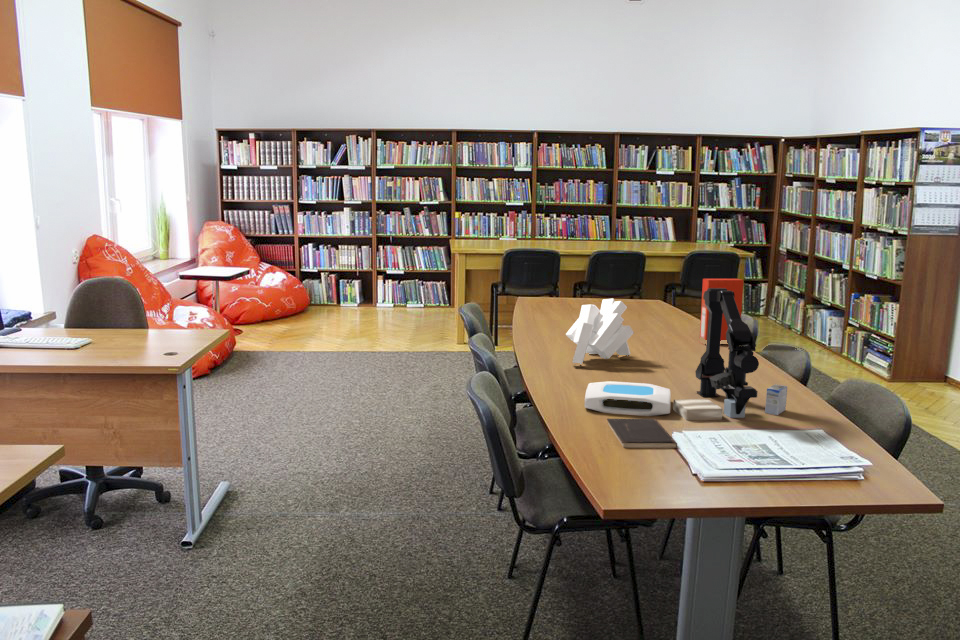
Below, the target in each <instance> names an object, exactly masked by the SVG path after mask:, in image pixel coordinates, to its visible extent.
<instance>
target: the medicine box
mask: <svg viewBox="0 0 960 640" xmlns="http://www.w3.org/2000/svg"><path fill="white" fill-rule="evenodd" d="M787 396H788V386H787V385H782V384H776V383H775V384H772V385H771V386H769V387H768V388H766V394H765V407H764V408H765V410H764V413H765V414H768V415H773V414H774V415H773V416H779V415H780V414H782V413H783V412H785V411H786V407H787V398H788V397H787Z"/></svg>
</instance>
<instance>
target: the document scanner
mask: <svg viewBox="0 0 960 640" xmlns="http://www.w3.org/2000/svg"><path fill="white" fill-rule="evenodd" d="M607 399H614V400H613V401H617V400H628V401H627V402H631V401H638V402H637V403H643V402H647V403H646V404H650V403H651V404H650V405H651V406H652V407H651V408H649V409H647V408H645V409H641V408H623V407H614V406H613V407H612V406H606V405H604V403H603V402H605V401H604V400H607ZM607 401H608V400H607ZM584 408H585V409H589V410H593V411H597V412H600V413H603V414H613V415H629V416H630V415H631V416H640V417H641V416H642V417H652V416H661V415H668V414H670V413H671V389H670V388H667V387H663V386H659V385H656V384H652V383H643V382H627V381H613V380H612V381H611V380H609V381H598V382H596V381H595V382H589V383H588V384H587V387H586V390H585V395H584Z"/></svg>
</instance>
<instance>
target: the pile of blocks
mask: <svg viewBox="0 0 960 640" xmlns="http://www.w3.org/2000/svg"><path fill="white" fill-rule="evenodd" d="M600 305H601V306H600V309H599V307H597V305H596V304H592V303H590V304H582V305H581V308H580V311H579V317H578V318H577V319H576V320H575V322H574V323H572V326H571V327H570V328H569V329H568V331H567V332H565V336H566V337H567V338H568V339H570V341H573V343H574V344H576V348H575V352H574V354H573V358H572V361H571V363H572V362H573V363H580V364H582V362H583V363H584V360H585V357H586V354H587V353H589V354H598V355H599V357H600V358H601V359H602V358H604V359H605V360H609V359H610V358H611V357H612V356H614V354H615V353H616V355H617V354H619V355H627V357H629V356H628V355H630V354H631V350H630V346H629V343H628V340H629V339H630V338H631V336H632V335H634V334H635V332H634V330H633V328H632V327H631V326H630V325H623V322H624V321H625V319H624V318H623V317H622V315H623V314H624V312H625V311H626V310H627V308H628V305H626V304H625V303H624V302H623V301H622V300H617V301H616V300H615V299H614V298H613V297H612V298H604V299H602V301H601V304H600ZM589 354H588V355H589ZM631 355H632V354H631ZM631 355H630V356H631ZM582 365H583V364H582Z"/></svg>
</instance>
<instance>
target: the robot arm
mask: <svg viewBox="0 0 960 640" xmlns="http://www.w3.org/2000/svg"><path fill="white" fill-rule="evenodd" d="M734 297H735V295H734V292H733V291H727V289H726V288H708V289H707V291H705V292H704V300H705V305H706V307H707V309H708V311H709V318H708V331H707V345H705V347H706V348H705V352H704V353H703V354H702V355H701V357H700V362H699V364H698V366H697V368H696V370H695V378H697V379H698V380H700V386H699V387H700V388H699V390H697V391H695V392H697V393H696V394H698V393H699V394H700V395H699V394H698V395H699V396H701V397H702V396H703V398H711V397H714V398H715V397H716V398H717V397H718V396H719V397H721V394H719V393H717V390H721V391H722V392H723V393H724V394H725V397H726V398H725V399H735V406H736V414H740V413H741V411H742V409H743V408H744V406H745V407H746V405H747V403H748V402H749V400H750V399H753V398H758V390H757V389H756V388H754V387H752V386H750V385H749V386H748V384H749V382H748V381H746V379H747V378H746V377H747V374H751V373H754V372H756V371H757V370H758V368H759V365H760V362H759V359H758V357H756V356H755V355H754V352H756V351H757V350H756V347H757V344H756V342H755V338H754V334H753V332H752V331H751V329H750V327H749V325H748V324H747V323H746V322H744V321H743V320H742V315H741V316H740V314H739V311H738V308H737V305H736V302H735V299H734ZM723 313H724V317H725V320H726V323H727V326H728V330H727V332H726V340H727V343H728V345H727V347H728V348H727V349H728V350H729V351H728V364H727V365H728V366H727V367H726V366H725V359H724V358H723V357H722V355H721V353H720V351H721V345H720V341H721V328H722V316H723Z"/></svg>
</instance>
